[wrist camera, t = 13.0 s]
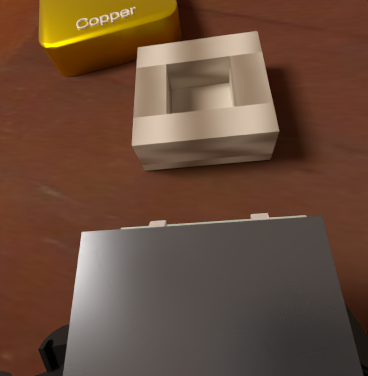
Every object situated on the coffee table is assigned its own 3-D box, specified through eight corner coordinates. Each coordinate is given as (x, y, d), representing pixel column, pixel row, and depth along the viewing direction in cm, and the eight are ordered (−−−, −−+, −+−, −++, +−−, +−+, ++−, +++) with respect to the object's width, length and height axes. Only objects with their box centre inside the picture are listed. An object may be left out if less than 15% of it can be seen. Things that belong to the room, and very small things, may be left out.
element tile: (59, 83, 31) (33, 46, 27) (57, 7, 38) (36, -33, 34) (186, 49, 31) (180, 7, 27) (162, -22, 38) (154, -65, 33)
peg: (247, 289, 17) (321, 215, 4) (256, 365, 15) (424, 608, 3) (183, 292, 17) (82, 232, 5) (185, 366, 16) (34, 583, 3)
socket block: (252, 67, 28) (257, 31, 24) (270, 159, 23) (279, 131, 20) (148, 80, 29) (137, 47, 26) (145, 170, 24) (131, 145, 21)
